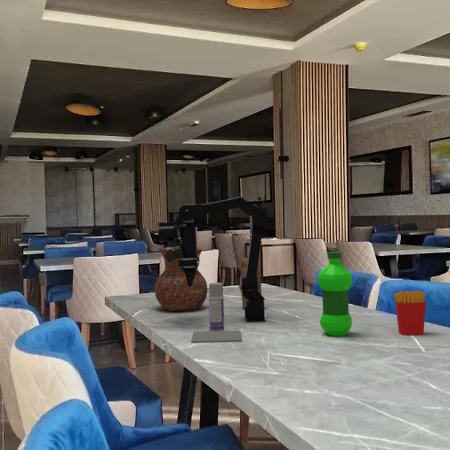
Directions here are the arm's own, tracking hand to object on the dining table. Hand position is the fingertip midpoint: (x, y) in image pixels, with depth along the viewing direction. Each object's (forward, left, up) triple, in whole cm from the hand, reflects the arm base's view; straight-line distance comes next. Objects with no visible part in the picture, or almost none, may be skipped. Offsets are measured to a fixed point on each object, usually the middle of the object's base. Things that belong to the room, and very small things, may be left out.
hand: (190, 284), depth 184 cm
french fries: (-67, +26, -13) cm, 73 cm away
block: (-22, -25, -13) cm, 36 cm away
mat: (-9, +23, -13) cm, 28 cm away
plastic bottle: (-45, +24, -13) cm, 53 cm away
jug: (+6, -28, -13) cm, 32 cm away
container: (-9, +13, -13) cm, 21 cm away
